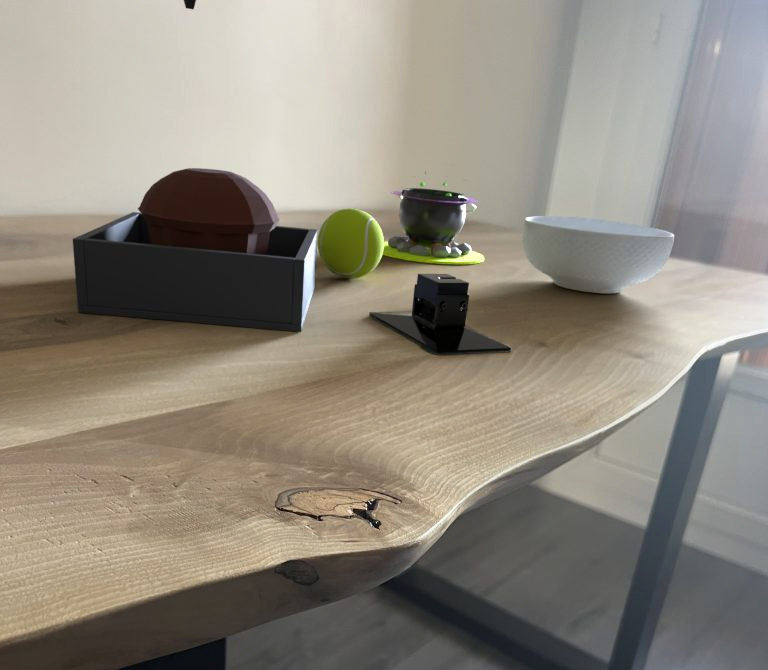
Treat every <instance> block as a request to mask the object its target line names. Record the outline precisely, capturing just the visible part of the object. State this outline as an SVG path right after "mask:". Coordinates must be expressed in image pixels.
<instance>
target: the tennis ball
mask: <svg viewBox="0 0 768 670" xmlns="http://www.w3.org/2000/svg"><path fill="white" fill-rule="evenodd" d="M384 239H385V238H384V233H383V231H382V228H381V226H380V224H379V222H378V221H377V220H376V219H375V218H374V217H373V216H372V215H371V214H370V213H367V212H366V211H364V210H361V209H356V208H343V209H340V210H337V211H335V212H333V213H331V214H330V215H328V217H327V218H326V219H325V220H324V221H323V223H322V225H321V227H320V229H319V230H318V235H317V252H318V255H319V258H320V260H321V261H322V263H323V265H324V266H325V267H326V269H328V270H329V271H330V272H331V273H333V274H334V275H336V276H338V277H340V278H343V279H358V278H362V277H364V276H367V275H368V274H370V273H371V272H373V271H374V270H375V268H377V266H378V265H379V263H380V261H381V259H382V257H383V255H382V254H383V250H384V242H385V240H384Z"/></svg>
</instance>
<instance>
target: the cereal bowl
mask: <svg viewBox="0 0 768 670" xmlns="http://www.w3.org/2000/svg"><path fill="white" fill-rule="evenodd" d="M521 234H522V235H521V238H522V242H521V243H522V248H523V252H524V255H525V257H526V259H527V260H528V262H529V263H530V264H531V265H532V266H533V267H534V268H535V269H537V270H538V271H539V272H541V273H542V274H545V275H546V276H548V277H549V278H550V279H551V281H552V282H553V283H554V284H555V285H556V286H559V287H561V288H564V289H568V290H573V291H577V292H584V293H593V294H618V293H621V292H622V291H623V290H624V289H625V288H627V287H631V286H634V285H637V284H640V283H644V282H646V281H648V280H650V279H652V278H653V277H654V276H656V275H657V274H658V273H660V272H661V270H662V269H663V268H665V266H666V263H667V261H668V260H669V257H670V256H671V252H672V249H673V245H674V242H675V234H674V233H672V232H669V231H667V230H664V229H660V228H655V227H651V226H646V225H645V226H644V225H641V224H635V223H627V222H620V221H613V220H604V219H596V218H587V217H578V216H577V217H575V216H559V215H558V216H557V215H534V216H533V215H532V216H527V217H525V218H524V220H523V225H522V233H521Z"/></svg>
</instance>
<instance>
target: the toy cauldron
mask: <svg viewBox="0 0 768 670" xmlns="http://www.w3.org/2000/svg"><path fill="white" fill-rule="evenodd" d="M444 164H445V165H447V163H444ZM450 165H451V166H453V167H454V166H455V164H449V166H450ZM427 173H428V172H427V171H426V170H425V171H424V175H430V174H427ZM438 176H439V177H440V175H437V177H438ZM412 177H415V176H413V175H412ZM446 177H447V178H448V176H446ZM452 178H454V179H455V177H453V176H452ZM426 179H428V178H426ZM428 180H429V179H428ZM434 180H437V179H434ZM445 181H448V182H449V180H446V179H445ZM445 181H444V182H443V183H442V186H443V187H446V186H447V182H445ZM462 181H463V182H468V180H466V179H464V178H462ZM419 185H420V188H419V187H418V188H417V187H407V188H404V189H402V190H397V191H396V190H395V191H389V193H390V194H393V195H395V196H398V198H399V199H401V200H400V202H399V213H398V218H399V223H400V227H401V231H403V233H404V234H405V236H392V237H391V238H389V239H388V240H387V241H384V250H383V254H382V256H386V257H391V258H394V259H399V260H404V261H411V262H418V263H425V264H437V265H477V264H481V263H483V262H485V256H484V255H483V254H481V253H480V252H476V251H474V250H472V246H471V245H470V244H467V243H466V242H463V243H460V244H459V243H457V242H455V241H453V240H455V238H456V237H458V235H460V233H461V231H462V229H463V226H464V224H465V221H466V215H467V214H471V213H473V212H475V211H476V209H477V206H476V205H475V204H474V203H479V200H477V199H475V198H474V199H473V198H471V197H465V194H463V193H459V192H457V191H449V190H442V189H433V188H423V187H424V186H425V183H424V182H423V181H421V182H420V183H419ZM421 187H422V188H421ZM466 205H469V206H470V207H472V209H470V210H467V208H466Z"/></svg>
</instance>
